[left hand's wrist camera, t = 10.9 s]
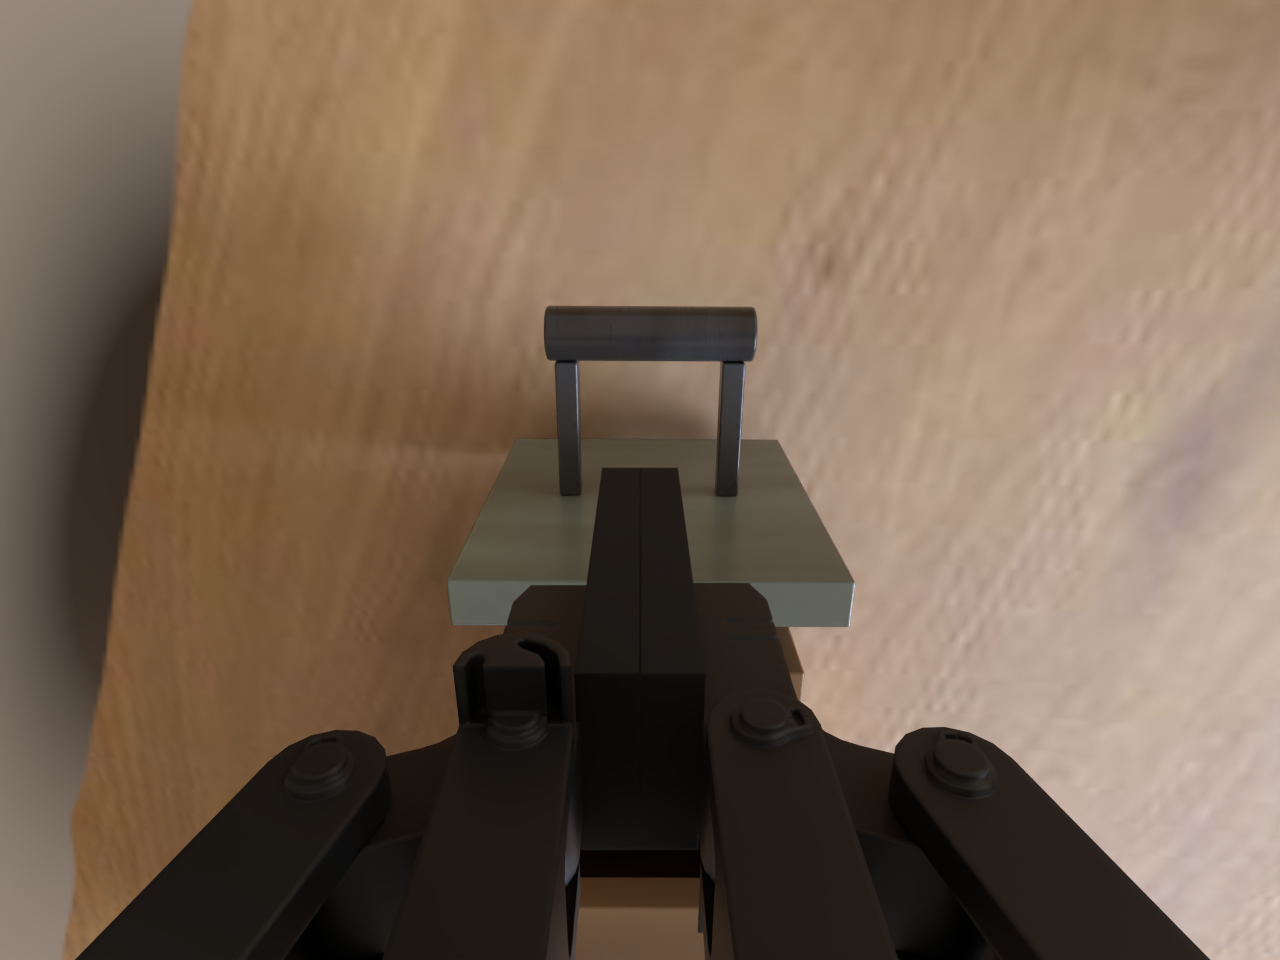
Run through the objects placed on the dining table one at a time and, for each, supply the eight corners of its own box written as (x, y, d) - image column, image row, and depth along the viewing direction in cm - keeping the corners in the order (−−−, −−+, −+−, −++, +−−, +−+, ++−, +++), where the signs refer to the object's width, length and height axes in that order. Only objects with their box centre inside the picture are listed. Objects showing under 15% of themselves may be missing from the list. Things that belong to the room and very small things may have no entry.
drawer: (506, 282, 23) (420, 344, 14) (790, 284, 23) (887, 347, 14) (540, 847, 32) (501, 1106, 23) (745, 847, 32) (787, 1107, 23)
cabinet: (517, 640, 29) (445, 907, 19) (772, 641, 30) (849, 909, 19) (540, 980, 37) (498, 1311, 26) (743, 980, 37) (786, 1312, 26)
